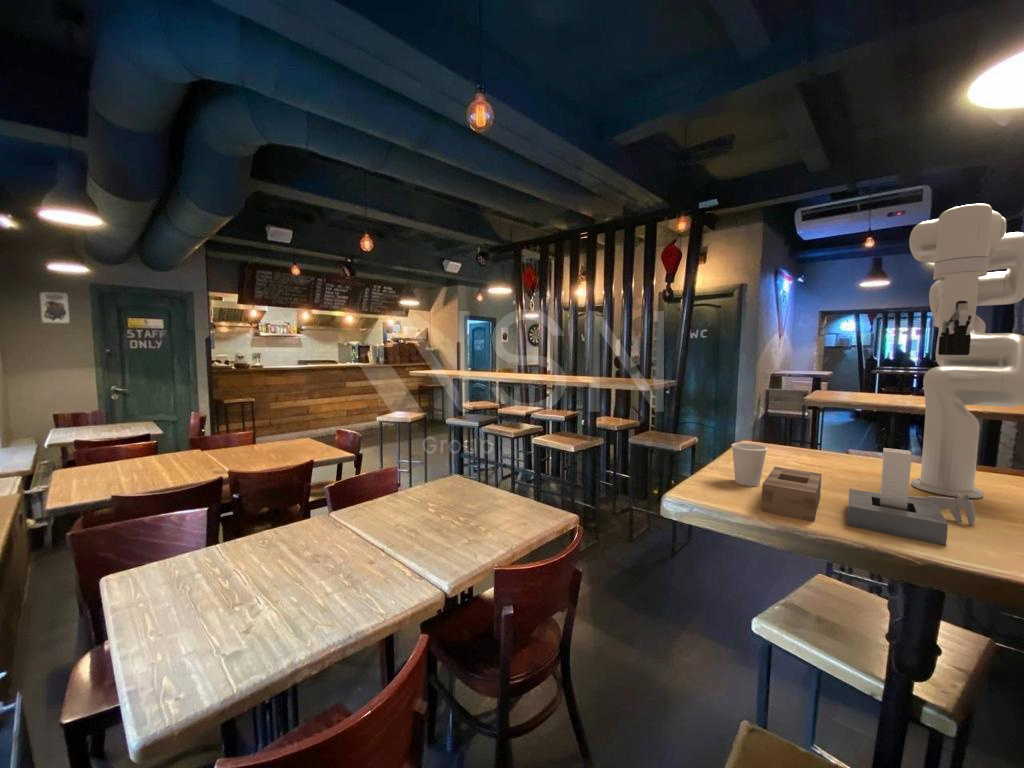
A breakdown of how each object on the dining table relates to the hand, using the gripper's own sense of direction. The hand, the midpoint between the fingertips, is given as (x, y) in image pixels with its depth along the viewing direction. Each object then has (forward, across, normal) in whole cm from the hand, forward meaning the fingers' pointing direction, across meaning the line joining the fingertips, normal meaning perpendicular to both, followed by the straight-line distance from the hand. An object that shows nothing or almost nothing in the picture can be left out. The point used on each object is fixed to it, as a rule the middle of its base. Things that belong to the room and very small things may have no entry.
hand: (952, 354), depth 87 cm
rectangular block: (+33, +11, -8) cm, 36 cm away
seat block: (+34, +11, -8) cm, 37 cm away
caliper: (+35, -3, -4) cm, 35 cm away
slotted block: (+34, +11, -25) cm, 44 cm away
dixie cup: (+34, 0, -36) cm, 50 cm away
